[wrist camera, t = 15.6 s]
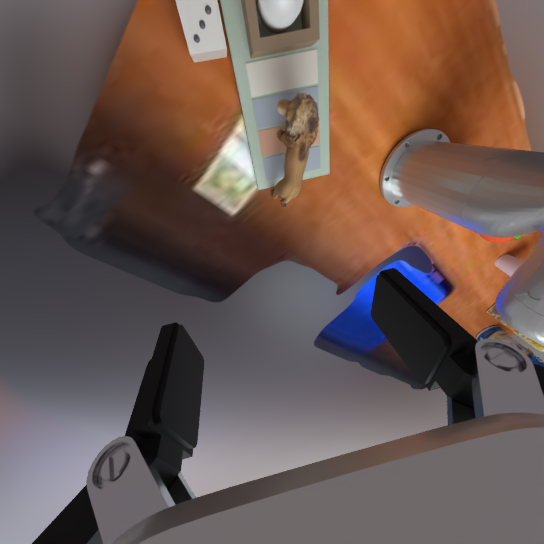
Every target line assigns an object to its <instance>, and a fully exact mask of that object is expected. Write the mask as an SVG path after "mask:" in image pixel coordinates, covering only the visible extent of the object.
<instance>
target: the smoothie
mask: <svg viewBox="0 0 544 544" xmlns="http://www.w3.org/2000/svg"><path fill="white" fill-rule="evenodd" d="M523 261H524V260H522V259H519V258H516V257H514V256H511V255H508V254H505V255H502V256H501V257H499V258H498V259H497V260H496V261H495V266H496V267H498V268H499V269H501V270H502V271H503V272H505V273H506V274H508V275H509V276H510V277H511V276H512V275H513V273H514V272H515V271H516V270H517V268H518V267H519V266H520V265H521V263H522V262H523Z"/></svg>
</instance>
